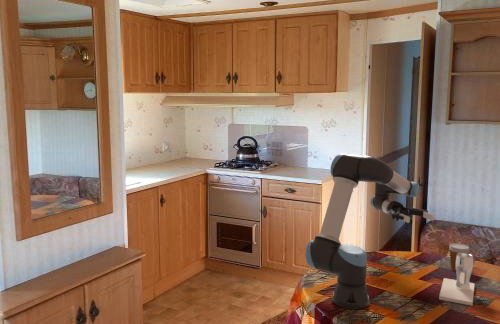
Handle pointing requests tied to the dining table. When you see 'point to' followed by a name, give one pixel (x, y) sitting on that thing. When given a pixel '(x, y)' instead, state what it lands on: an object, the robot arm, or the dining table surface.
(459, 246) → the disposable coffee cup
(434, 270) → the dining table surface
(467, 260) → the beer glass
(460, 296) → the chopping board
